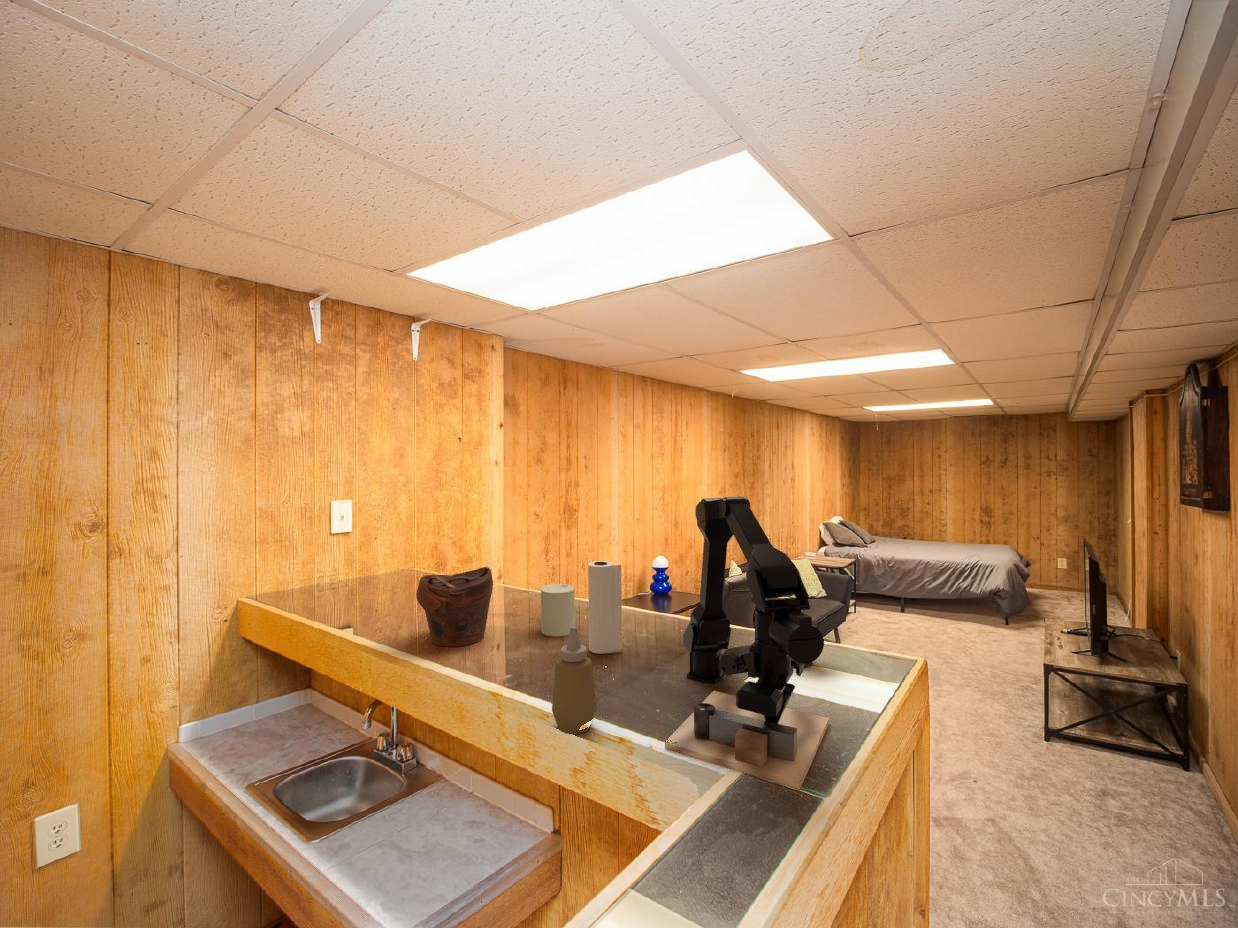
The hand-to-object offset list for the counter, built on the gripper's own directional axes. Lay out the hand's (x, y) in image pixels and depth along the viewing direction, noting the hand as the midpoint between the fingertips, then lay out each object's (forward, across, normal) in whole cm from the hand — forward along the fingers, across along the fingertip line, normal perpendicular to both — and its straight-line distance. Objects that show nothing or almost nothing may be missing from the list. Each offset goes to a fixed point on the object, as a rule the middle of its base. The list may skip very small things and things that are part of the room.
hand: (771, 730), depth 93 cm
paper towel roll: (+5, -23, -47) cm, 53 cm away
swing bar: (+2, +3, -4) cm, 5 cm away
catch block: (+2, +6, -2) cm, 6 cm away
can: (+5, -29, -65) cm, 72 cm away
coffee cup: (+5, -39, -4) cm, 40 cm away
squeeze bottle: (+4, +10, -32) cm, 34 cm away
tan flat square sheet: (+4, -3, -4) cm, 7 cm away
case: (+5, -11, -84) cm, 85 cm away
